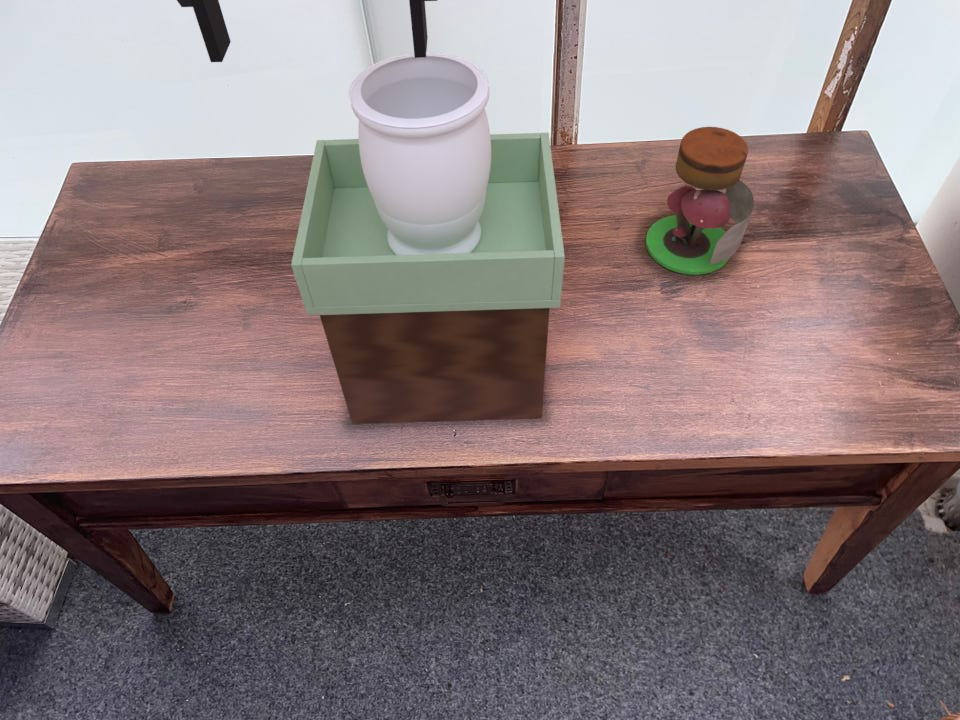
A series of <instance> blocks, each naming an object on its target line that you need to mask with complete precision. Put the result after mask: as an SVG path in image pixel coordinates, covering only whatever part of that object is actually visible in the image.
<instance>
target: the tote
mask: <svg viewBox="0 0 960 720" xmlns="http://www.w3.org/2000/svg"><path fill="white" fill-rule="evenodd" d="M490 138H491V167H490V174H489V180H488V185H487V191H486V198H485V203H484V207H483V211H482V213H481V216H480V218H479V220H478V221H479V223H480V226H481V237H480V241H479V243H478V245H477V246H476V248H475V249H474V250H473V251H472V252H471V253H448V254H416V255H396V254H395V253H394V252H393V251H392V250H391V248H390V246H389V244H388V239H387V234H388V228H387V227H386V226H385V224H384V223H383V221H382V219H381V217H380V215H379V213H378V211H377V208H376V206H375V203H374V199H373V197H372V195H371V193H370V190H369V188H368V185H367V182H366V179H365V176H364V173H363V169H362V164H361V159H360V151H359V138H347V139H344V138H343V139H317V140H316V142H315V147H314V152H313V157H312V162H311V168H310V170H309V177H308V180H307V186H306V191H305V196H304V201H303V205H302V211H301V215H300V220H299V225H298V230H297V235H296V239H295V244H294V249H293V253H292V258H291V263H290V266H291V270H292V272H293V275H294V276H293V277H294V279H295V282H296V285H297V289H298V292H299V294H300V298H301V301H302V304H303V307H304V309H305V314H306V316H320V315H340V314H373V313H405V312H437V311H469V310H502V309H534V308H550V309H557V308H558V309H560V308H561V302H562V292H563V282H564V269H565V268H564V267H565V258H566V254H565V247H564V241H563V231H562V224H561V218H560V217H561V216H560V209H559V201H558V194H557V193H558V192H557V186H556V178H555V171H554V163H553V155H552V148H551V147H552V146H551V140H550V139H551V138H550V133H549V132H527V133H525V132H524V133H498V134H496V133H495V134H493V133H492V134H490Z"/></svg>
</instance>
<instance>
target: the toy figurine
mask: <svg viewBox="0 0 960 720" xmlns="http://www.w3.org/2000/svg"><path fill="white" fill-rule="evenodd" d="M748 154H749V146H748V144H747V142H746V141H745V139H744V138H743V137H742V136H740V135H739V134H737V133H736V132H735V131H732V130H729V129H727V128H723V127H718V126H701V127H697V128H694V129H692V130H689V131H688V132H687V133H685V134H684V135H683V137H682V138H681V141H680V144H679V148H678V153H677V157H676V162H675V173H676V174H677V176H678V178H679V179H681V180H682V182H684V183H686V184H687V185H683V186H681V187H678V188H676V189H675V190H674V191H672V192H671V193H670V194H669V195H668V196H667V198H666V204H667V207H668V209H670V211H672V212H673V213H675V214H673V215H668V216H665V217H662V218H660V219H658V220H657V221H655V222H654V223H653V224H652V225H651V226H650V227H649V228H648V231H647V233H646V235H645V247H646V250H647V253H648V254H649V256H650V257H651V258H652V259H653V260H654V261H655V262H656V263H657V264H659V265H660V266H662V267H663V268H665V269H667V270H670V271H672V272H674V273H678V274H683V275H690V276H691V275H692V276H695V275H696V276H697V275H699V276H700V275H705V274H710V273H713V272H715V271H717V270H719V269H721V268H723V267H724V266H725V265H726V264H727V263H728V261H729V260H730V258H731V257H733V256H734V254H735V253H736V252H737V251H738V250H739V248H740V246H741V244H742V241H743V239H744V236H745V233H746V230H747V228H748V226H749V224H750V221H751V218H752V217H751V216H752V213H753V210H754V206H755V199H754V195H753V192H752V190H751V189H750V187H749V186H748V185H747V184H746V183H745V182H743V181H742V180H740V179H741V177H742V173H743V171H744V167H745V164H746V162H747V157H748ZM697 189H698V190H697ZM721 190H725V192H723V191H721ZM730 218H731V219H732V220H733V221H734V222H735V224H734V225H731V226H730V227H729V228H728V229H727V230H725V229H724V228H722V227H723V226H725V225H726V224H728V223H729V221H730Z"/></svg>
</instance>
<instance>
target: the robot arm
mask: <svg viewBox="0 0 960 720" xmlns="http://www.w3.org/2000/svg"><path fill="white" fill-rule="evenodd" d="M176 1H177V3H178V4H179V6H180V7H181V8H192V9H193V12H194V15H195V18H196V22H197V24H198V27H199V30H200V33H201V37H202V39H203V42H204V46H205V48H206V51H207V54H208V57H209V61H210V63H223V62H224V59H225V56H226V54H227V53H228V52H227V51H228V50H229V47H230V45H231V43H232V41H231V37H230V35H229V31H228V28H227V24H226V21H225V18H224V15H223V11H222V8H221V5H220V1H219V0H176ZM426 2H438V0H408V3H409V12H410V13H409V14H410V22H411V32H412V33H411V34H412V35H411V36H412V43H413V45H412V46H413V53H414V56H415V58H421V57H426V52H428V51H427V50H428V36H429V35H428V25H427V13H426Z"/></svg>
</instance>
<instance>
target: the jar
mask: <svg viewBox="0 0 960 720" xmlns="http://www.w3.org/2000/svg"><path fill="white" fill-rule="evenodd" d="M348 98H349V99H348V100H349V103H350V107H351V111H352V112H353V114H354V115H355V117H356V119H358V133H357V134H358V139H359V151H360V159H361V164H362V169H363V173H364V176H365V179H366V182H367V185H368V188H369V190H370V193H371V195H372V197H373V199H374V203H375V206H376V208H377V211H378V213H379V215H380V217H381V219H382V221H383V223H384V224H385V226H386V227H387V228H388V234H387V239H388V244H389V246H390V248H391V250H392V251H393V252H394V253H395V254H396V255H416V254H448V253H471V252H472V251H473V250H474V249H475V248H476V246H477V245H478V243H479V241H480V237H481V226H480V223H479V221H478V220H479V218H480V216H481V213H482V211H483V207H484V203H485V198H486V191H487V185H488V180H489V174H490V167H491V138H490V135H491V131H490V125H489V119H488V115H487V111H486V107H487V104H488V102H489V99H490V85H489V80H488V77H487V75H486V74H485V72H484V71H483V69H481V68H480V67H479V66H478V65H477V64H475V63H474V62H472V61H470V60H467V59H465V58H463V57H460V56H457V55H454V54H449V53H442V52H428V51H426V57H421V58H415V56H414V52H413V53H404V54H399V55H395V56H391V57H388V58H385V59H382V60H380V61H377V62H375V63H374V64H372V65H371V64H370V66H368V67H366V68H365V69H363V70H362V71H361V72H360V73H359V74H357V76H356V77H355V78H354V79H353V81H352V82H351V83H350V86H349V90H348Z"/></svg>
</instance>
